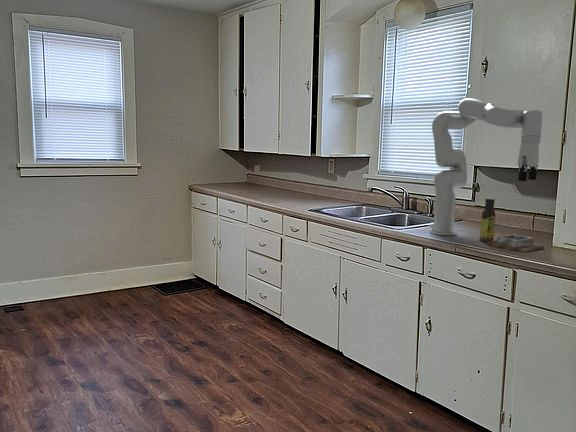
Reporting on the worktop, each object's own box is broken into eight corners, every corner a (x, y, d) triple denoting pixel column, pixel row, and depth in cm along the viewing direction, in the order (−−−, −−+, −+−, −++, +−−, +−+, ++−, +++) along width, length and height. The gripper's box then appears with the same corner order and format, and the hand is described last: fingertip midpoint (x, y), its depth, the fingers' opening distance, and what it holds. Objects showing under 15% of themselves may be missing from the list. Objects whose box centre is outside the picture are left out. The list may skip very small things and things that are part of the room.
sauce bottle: (488, 242, 249) (491, 199, 246) (476, 240, 254) (479, 198, 251) (496, 241, 253) (499, 198, 250) (485, 238, 258) (487, 197, 254)
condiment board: (487, 244, 244) (487, 235, 243) (507, 241, 252) (507, 232, 252) (523, 252, 229) (524, 242, 228) (543, 248, 237) (544, 239, 237)
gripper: (530, 139, 237) (527, 178, 239) (512, 139, 225) (509, 180, 228) (548, 140, 231) (544, 179, 234) (530, 140, 220) (527, 182, 222)
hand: (527, 180), depth 231 cm, fingers open, 9 cm apart
